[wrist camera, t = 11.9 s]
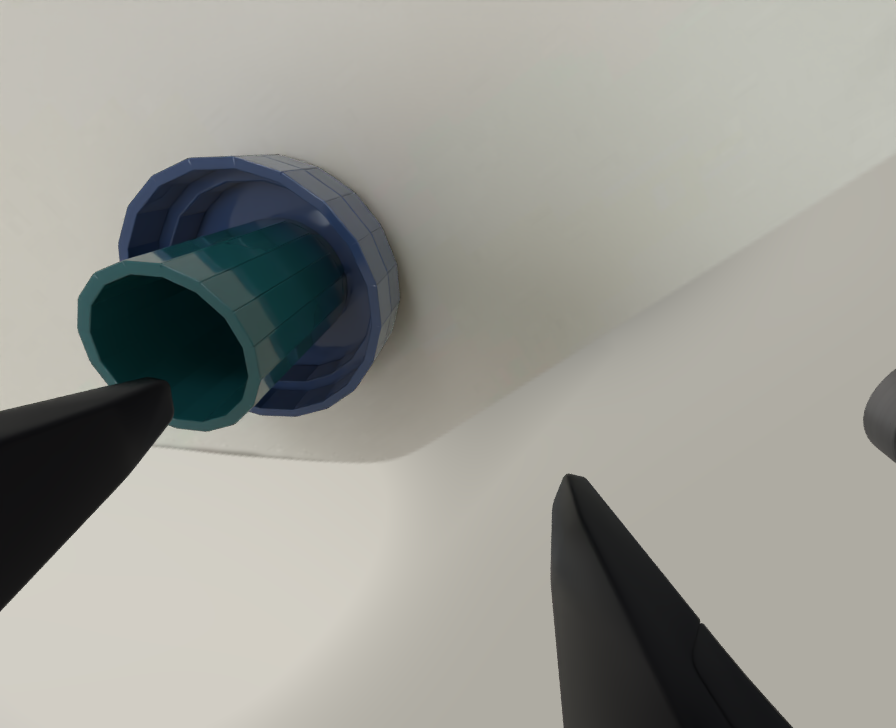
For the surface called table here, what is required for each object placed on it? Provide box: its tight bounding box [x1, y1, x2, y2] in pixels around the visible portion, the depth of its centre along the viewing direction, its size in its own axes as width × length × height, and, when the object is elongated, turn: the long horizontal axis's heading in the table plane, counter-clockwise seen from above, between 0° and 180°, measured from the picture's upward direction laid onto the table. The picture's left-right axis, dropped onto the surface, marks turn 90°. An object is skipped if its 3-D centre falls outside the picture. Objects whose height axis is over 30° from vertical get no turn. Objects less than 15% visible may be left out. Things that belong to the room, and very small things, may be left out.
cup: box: [77, 218, 347, 432], centre depth 16 cm, size 6×6×8 cm
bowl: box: [118, 154, 400, 417], centre depth 18 cm, size 11×11×4 cm
